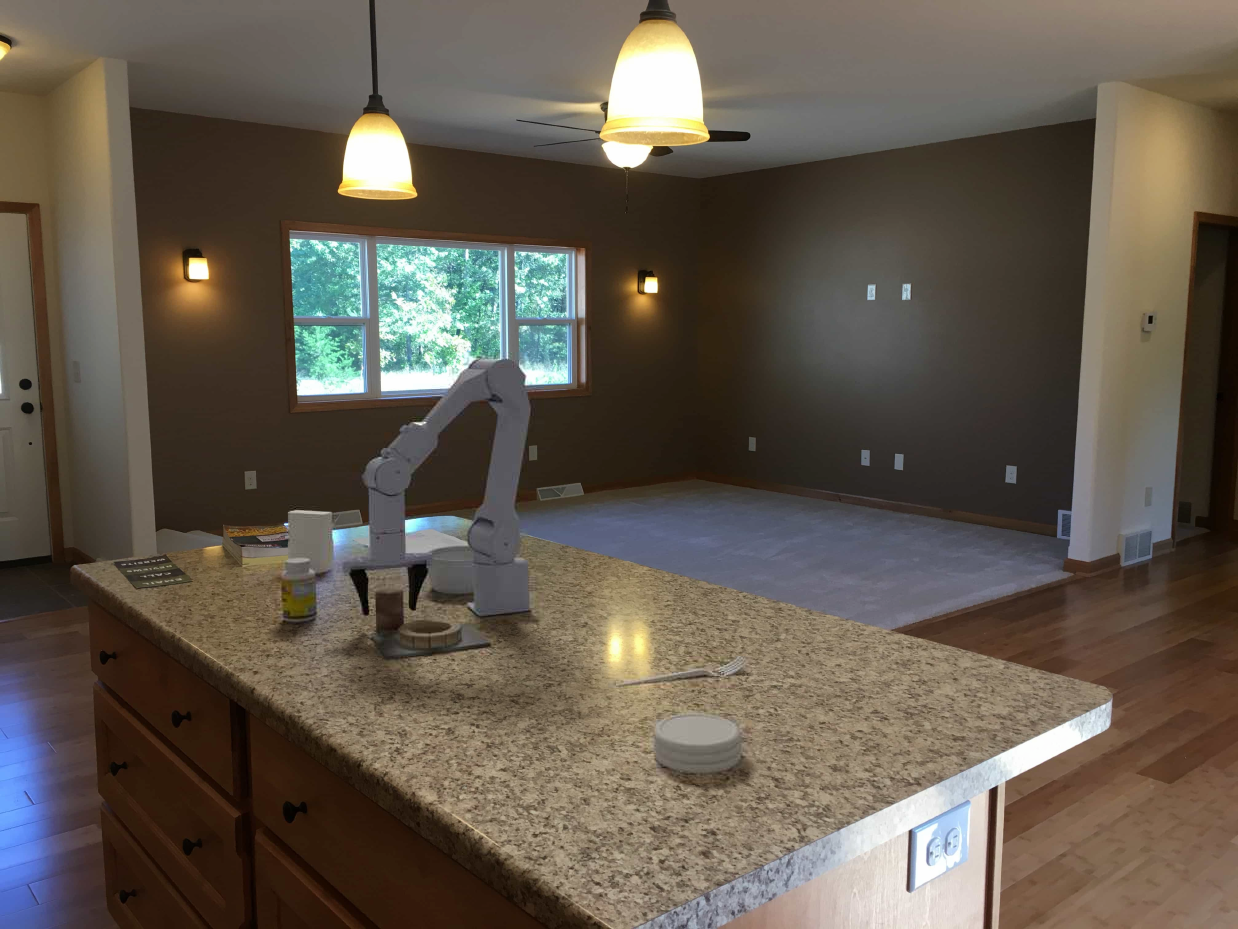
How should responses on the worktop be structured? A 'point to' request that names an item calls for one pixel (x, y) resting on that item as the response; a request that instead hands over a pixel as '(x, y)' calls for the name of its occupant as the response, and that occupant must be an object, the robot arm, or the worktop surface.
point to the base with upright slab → (311, 538)
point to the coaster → (697, 743)
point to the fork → (695, 673)
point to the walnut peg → (389, 609)
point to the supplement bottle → (298, 591)
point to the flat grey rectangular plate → (429, 638)
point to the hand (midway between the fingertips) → (389, 611)
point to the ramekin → (452, 570)
